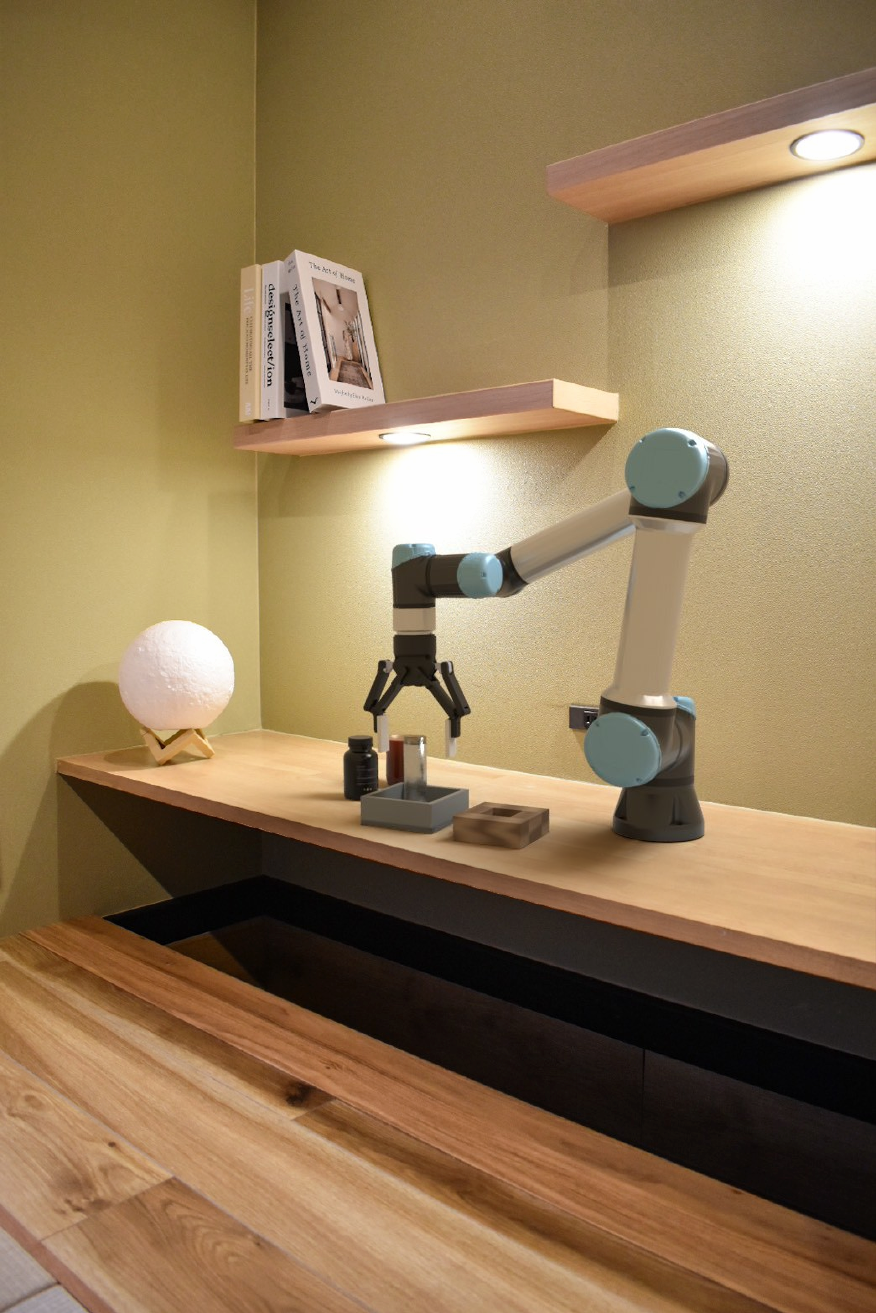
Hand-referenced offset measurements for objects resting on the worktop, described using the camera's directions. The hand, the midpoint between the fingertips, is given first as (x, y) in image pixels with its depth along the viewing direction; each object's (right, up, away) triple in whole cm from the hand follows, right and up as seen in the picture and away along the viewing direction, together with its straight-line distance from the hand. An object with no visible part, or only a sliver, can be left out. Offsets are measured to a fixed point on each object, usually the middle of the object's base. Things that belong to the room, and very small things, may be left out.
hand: (416, 754), depth 178 cm
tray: (0, -12, +1) cm, 12 cm away
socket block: (+14, -13, -10) cm, 21 cm away
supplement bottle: (-11, -11, +21) cm, 26 cm away
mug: (-4, -10, +32) cm, 34 cm away
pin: (0, -11, +1) cm, 11 cm away
